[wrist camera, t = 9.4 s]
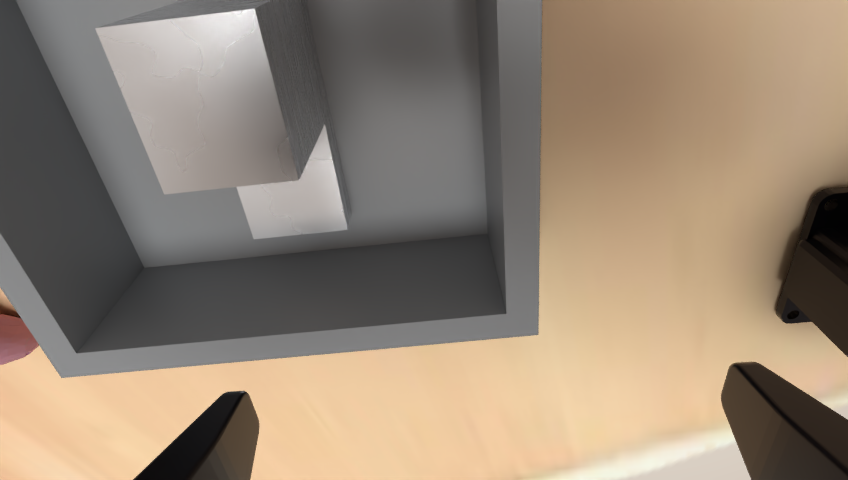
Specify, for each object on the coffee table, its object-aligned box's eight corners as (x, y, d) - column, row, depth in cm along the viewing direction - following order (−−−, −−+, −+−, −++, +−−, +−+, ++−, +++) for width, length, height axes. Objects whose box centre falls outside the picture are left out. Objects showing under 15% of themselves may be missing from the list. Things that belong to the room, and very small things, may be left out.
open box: (500, -239, 13) (546, -326, 9) (511, 244, 21) (538, 334, 17) (-81, -157, 14) (-327, -197, 9) (137, 281, 22) (61, 377, 17)
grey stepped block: (303, -17, 16) (254, 8, 11) (351, 213, 20) (331, 304, 15) (190, -3, 16) (95, 28, 11) (262, 223, 20) (214, 315, 15)
